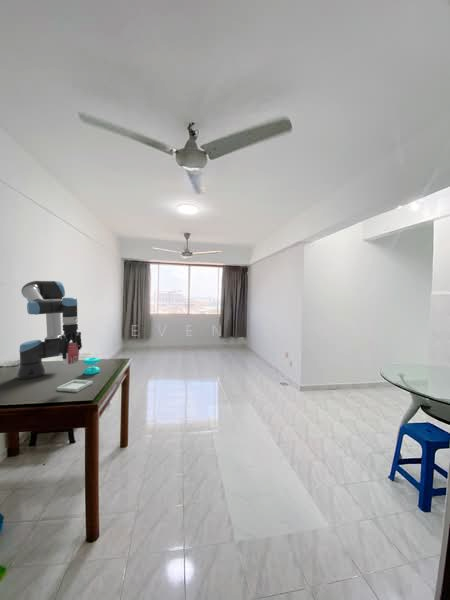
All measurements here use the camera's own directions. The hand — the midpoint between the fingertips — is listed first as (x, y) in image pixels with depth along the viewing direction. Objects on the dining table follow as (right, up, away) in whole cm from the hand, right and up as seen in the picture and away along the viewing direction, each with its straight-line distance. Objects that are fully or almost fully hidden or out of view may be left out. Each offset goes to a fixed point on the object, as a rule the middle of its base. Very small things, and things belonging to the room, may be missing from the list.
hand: (71, 362), depth 148 cm
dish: (+1, -15, +2) cm, 15 cm away
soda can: (0, -1, 0) cm, 1 cm away
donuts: (-3, -15, +28) cm, 32 cm away
